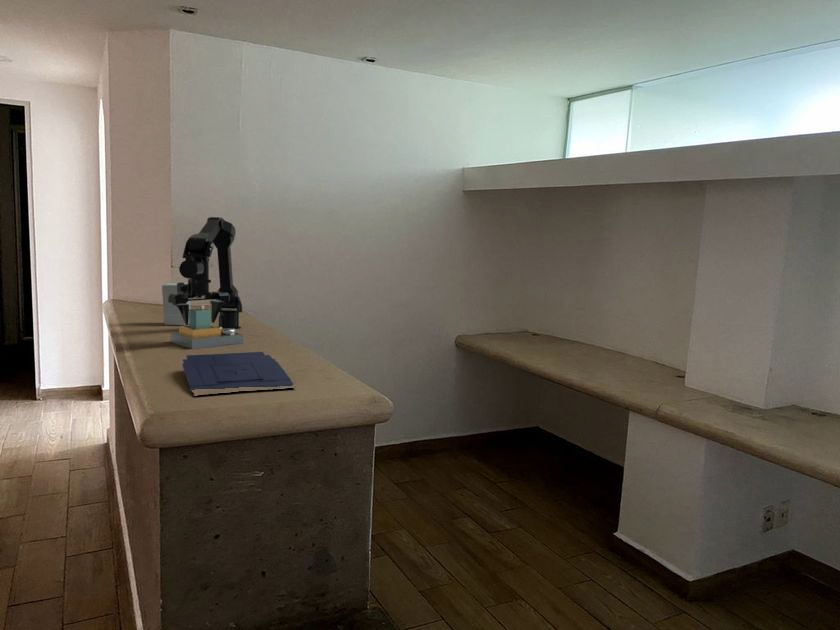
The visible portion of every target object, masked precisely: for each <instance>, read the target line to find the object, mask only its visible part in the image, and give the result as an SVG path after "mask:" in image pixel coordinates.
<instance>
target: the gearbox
mask: <svg viewBox="0 0 840 630" xmlns="http://www.w3.org/2000/svg"><path fill="white" fill-rule="evenodd" d="M178 327H179V328H178V332H176V331H175V332H170V343H173V344H175V345H179V346H182V347H185V348H188V349H189V350H190V349H191V350H195V349H206V348H213V347H214V348H215V347H222V346H231V345H241V344H244V334H243V333H241V332H236V331H237V330H236V329H237V328H235V329H234V328H222V327H220V326H219V325H217V326H216V325H212V324H211V328H206V329H195V330H194V329H190V328H189V324H188V325H178Z"/></svg>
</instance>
